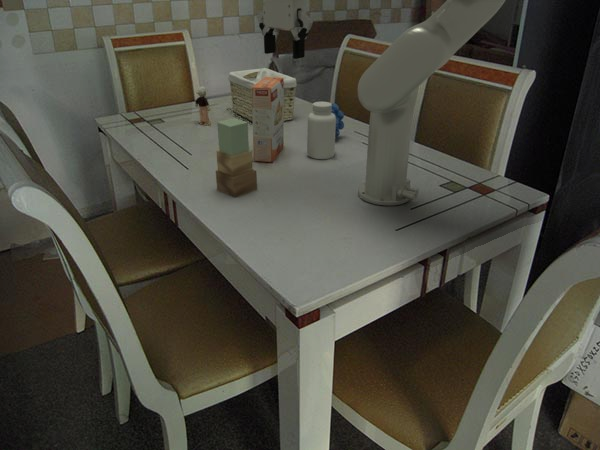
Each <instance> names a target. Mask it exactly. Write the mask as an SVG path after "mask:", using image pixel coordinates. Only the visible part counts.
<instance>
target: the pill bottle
mask: <svg viewBox="0 0 600 450" xmlns="http://www.w3.org/2000/svg"><path fill="white" fill-rule="evenodd" d="M332 104H333V103H331V102H329V101H316V102H313V103H312V112H310V113H309V114H308V116H307V134H306V135H307V137H306V138H307V139H306V140H307V142H306V144H307V145H306V152H307V153H306V154H307V156H308V157H310V158H311V159H315V160H326V159H327V160H328V159H331V158H333V157H334V156H335V150H336V137H335V131H336V117H335V115H334V114H333V113H331V111H332V110H331V109H332Z"/></svg>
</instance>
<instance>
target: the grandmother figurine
mask: <svg viewBox="0 0 600 450" xmlns="http://www.w3.org/2000/svg"><path fill="white" fill-rule="evenodd" d="M206 91H207V89H206V87H205V86H199V87H198V88H197V89H196V92H195V94H196V95H198V97H197V98H196V100H195V101H194V102H195V104H194V106H195V108H197V107H199V117H200V118H199V119H200V122H199V123H200V124H199V125H203V126H205V125H206V126H211V124H212V122H211V121H210V117H209V112H210V111H211V108H210V104H209V101H208V98H206V96H207V92H206Z"/></svg>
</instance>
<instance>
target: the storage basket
mask: <svg viewBox="0 0 600 450" xmlns="http://www.w3.org/2000/svg"><path fill="white" fill-rule="evenodd" d="M264 77H280V78H283V79H284V122H286V121H290V120H293V118H294V109H295V99H296V98H295V96H296V90H297V86H298V85H297V79H296V78H295V77H292V76H290V75H286V74H284V73H280V72H278V71H275V70H272V69H270V68H267V67H263V68H254V69H246V70H238V71H230V72H229V73H228V79H227V80H228V81H229V84H230V85H229V87H230V95H231V102H232V103H231V106H232V110H233V112H234V113H235V114H237V115H239V116H242V117H243V118H245V119H247V120H249V121H251V122H253V117H252V86H254V85H255V84H256V83H258V82H259V81H260V80H262V79H263V78H264ZM250 79H253V80H250Z"/></svg>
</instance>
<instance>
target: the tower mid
mask: <svg viewBox="0 0 600 450" xmlns="http://www.w3.org/2000/svg"><path fill="white" fill-rule="evenodd" d="M216 163H217V165H216V166H217V170H218V171H221V172H223V173H225V174H227V175H229V176H232V177H235V176H238V175H241V174H244V173H247V172H250V171H253V170H254V167H253V166H254V165H253V150H251V149H249V151H248V152H245V153H241V154H238V155H234V156H230V155H228V154H226V153H223V152H221V151H219V149H217V150H216Z"/></svg>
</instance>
